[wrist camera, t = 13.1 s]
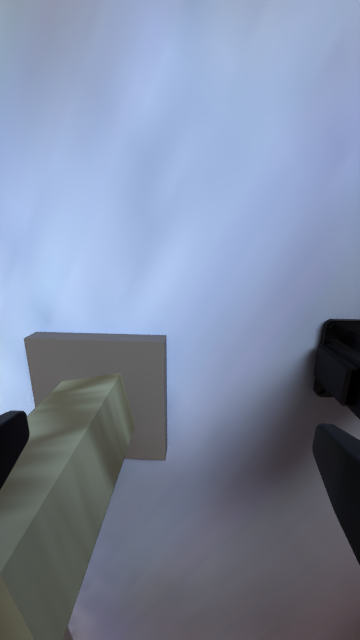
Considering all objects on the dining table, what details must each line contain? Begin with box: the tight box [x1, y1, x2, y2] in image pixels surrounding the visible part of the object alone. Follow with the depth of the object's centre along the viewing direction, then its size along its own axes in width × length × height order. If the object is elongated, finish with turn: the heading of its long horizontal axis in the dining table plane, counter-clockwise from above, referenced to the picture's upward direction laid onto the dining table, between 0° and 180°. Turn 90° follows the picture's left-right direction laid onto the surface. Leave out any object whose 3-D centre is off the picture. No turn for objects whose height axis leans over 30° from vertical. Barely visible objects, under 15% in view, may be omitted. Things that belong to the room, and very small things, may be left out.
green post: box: [0, 373, 135, 640], centre depth 15 cm, size 5×5×13 cm
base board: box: [24, 332, 167, 460], centre depth 22 cm, size 11×11×2 cm
